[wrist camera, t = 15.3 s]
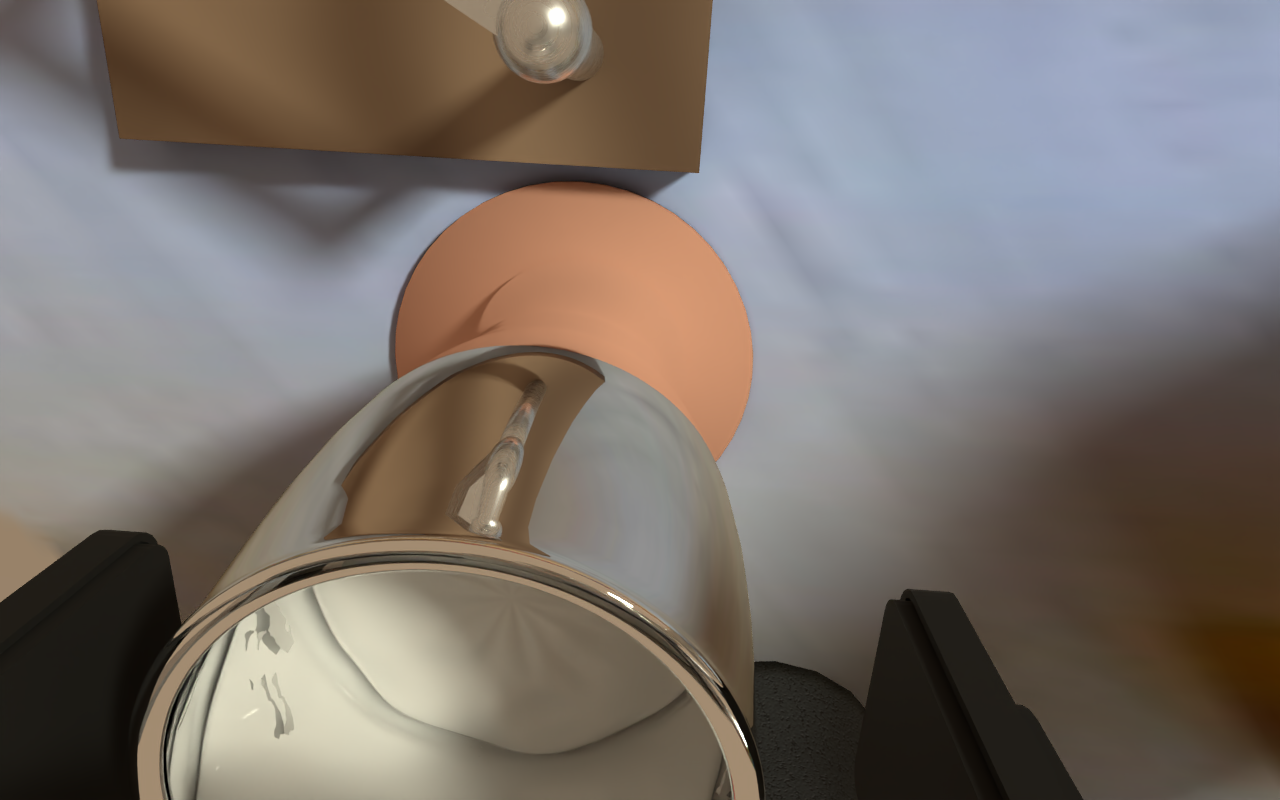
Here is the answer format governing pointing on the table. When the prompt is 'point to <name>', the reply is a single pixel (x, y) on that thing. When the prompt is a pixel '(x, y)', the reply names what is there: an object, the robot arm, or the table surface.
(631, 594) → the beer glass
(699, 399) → the pad
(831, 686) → the mug
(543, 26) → the bent wire
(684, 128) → the board
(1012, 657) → the table surface
